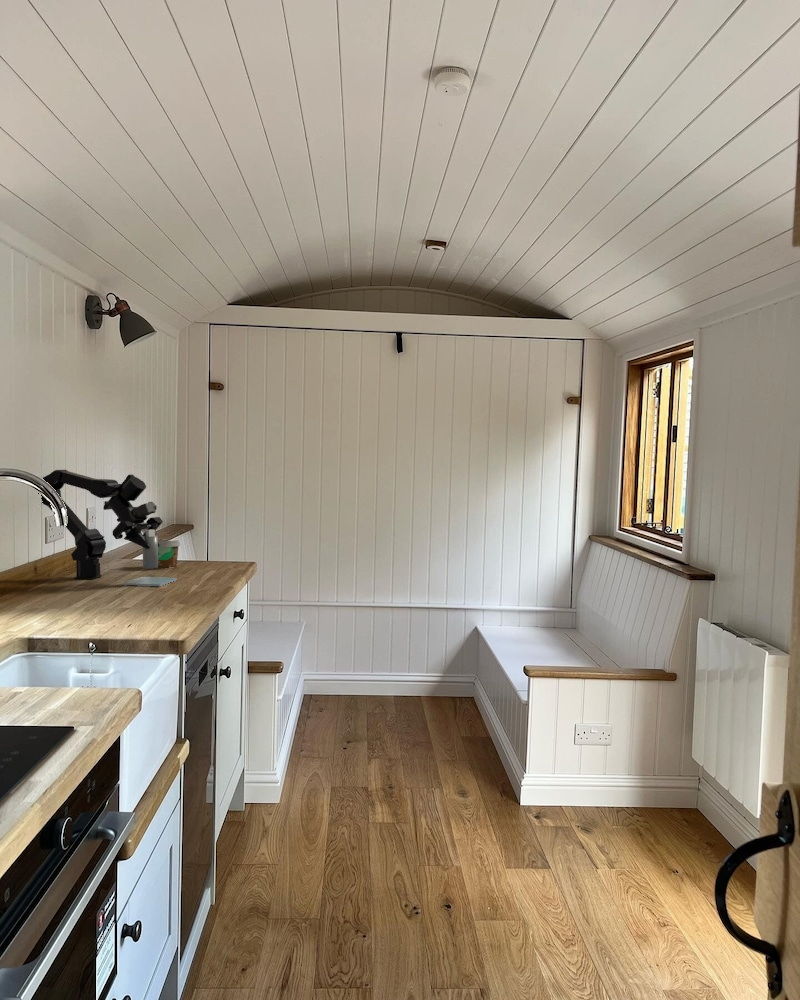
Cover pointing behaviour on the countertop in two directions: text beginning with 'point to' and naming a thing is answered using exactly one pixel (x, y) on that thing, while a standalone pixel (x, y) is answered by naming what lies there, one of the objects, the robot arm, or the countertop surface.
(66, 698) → the countertop surface
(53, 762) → the countertop surface
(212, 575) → the countertop surface
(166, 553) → the food container
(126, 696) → the countertop surface
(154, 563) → the grey tall rounded piece
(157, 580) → the coaster
